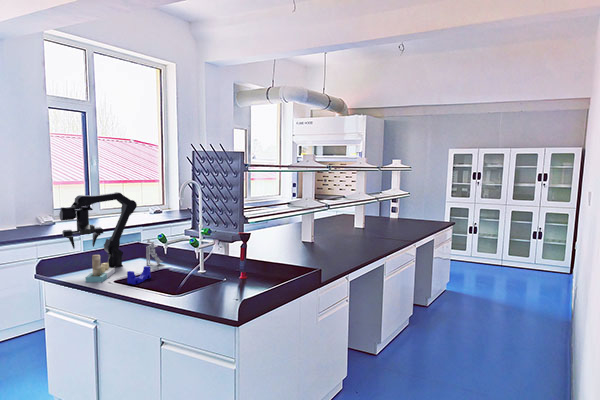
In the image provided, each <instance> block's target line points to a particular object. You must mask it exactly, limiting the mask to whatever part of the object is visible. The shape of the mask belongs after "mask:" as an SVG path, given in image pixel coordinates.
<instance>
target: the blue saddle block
mask: <svg viewBox="0 0 600 400" xmlns="http://www.w3.org/2000/svg"><path fill="white" fill-rule="evenodd" d="M126 275H127V284H128V285H129V284H131V285H137V284H140V283H142V282H145V280H147V279H151V277H152V276H151V266H147V265H144V266H143V270H142V273H140V275H139V276H136V274H135V271H133V270H132V271H131V270H129V271H127V272H126Z"/></svg>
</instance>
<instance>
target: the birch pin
mask: <svg viewBox="0 0 600 400" xmlns="http://www.w3.org/2000/svg"><path fill="white" fill-rule="evenodd" d="M91 263H92V264H91V265H92V272H93V277H94V276H101V267H100V266H101V255H100V254H93V255H91Z"/></svg>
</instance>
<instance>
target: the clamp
mask: <svg viewBox="0 0 600 400" xmlns="http://www.w3.org/2000/svg"><path fill="white" fill-rule="evenodd" d="M146 243H147V244H149V245H147V246H146V247H145V248H146V253H145V256H146V266H150V267H156V266H159V265H160V264H161V263H163V262H164V260H161V259H160V258H159V257H160V256H158V254H157V252H156V248H157V247H159V245H158V244H156V245H155V244H154V243H155V242H154V241H152V240H150V238H148V239H147V241H146ZM151 257H152V258H154V261H155V263H154V262H153V263H151ZM149 264H150V265H149Z"/></svg>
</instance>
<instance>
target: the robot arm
mask: <svg viewBox="0 0 600 400" xmlns="http://www.w3.org/2000/svg"><path fill="white" fill-rule="evenodd" d="M110 201H117V202H118V203H119V204H121V210H120V212H121V213H120V215H119V217H118V219H117V223H116V226H115V228H114V230H113V232H112V234H111V237H110V238H106V239H105V242H104V244H103V249H104V251H105V253H107V255H108V257H107V263H109V268H119V267H124V265H123V258H122V257H123V255H124V252H123V251H122V250H121V249H120V245H121V244H120V243H121V241H120V240H121V238H122V235H123V233H124V231H125V228H126V226H127V222H128V221H129V218H130V216H131V215H132V214H133V213H134V212H135V210H136V208H137V206H138V203H137V201H135V200H133V199H130V198H129V197H127V196H125V195H123V194H122V193H121V192H117V191H116V192H112V193H105V194H103V193H102V194H97V195H84V194H82V195H77V196H76V197H75V198H74V202H72V204H71V205H70V207H60V211H59V219H60V221H62V222H63V221H73V220H75V219H76V230H72V229H63V230H62V233H61V234H62V236H63V237H64V238H65V239H68V240H69V241H70V244H71V246H72V248H73V250H75V248H76V247H75V240H74V236H73V235H81V236H84V235H91V234H92V245H91V246H92V247H94V246H95V244H96V243H97V239H98V237H99V236H101V235H102V234H104V228H102V227H101V226H99V227H97V226H96V225H95V224H90V219H89V218H90V215H89V212H90V211H93V208H92V207H91V205H94V204H96V203H103V202H110ZM95 226H96V227H95Z"/></svg>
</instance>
